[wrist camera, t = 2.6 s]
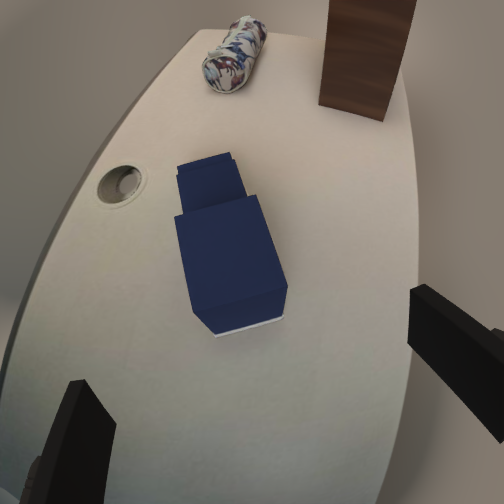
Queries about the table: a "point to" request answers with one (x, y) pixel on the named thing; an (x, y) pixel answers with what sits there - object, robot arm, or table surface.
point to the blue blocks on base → (227, 249)
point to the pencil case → (235, 55)
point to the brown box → (364, 54)
